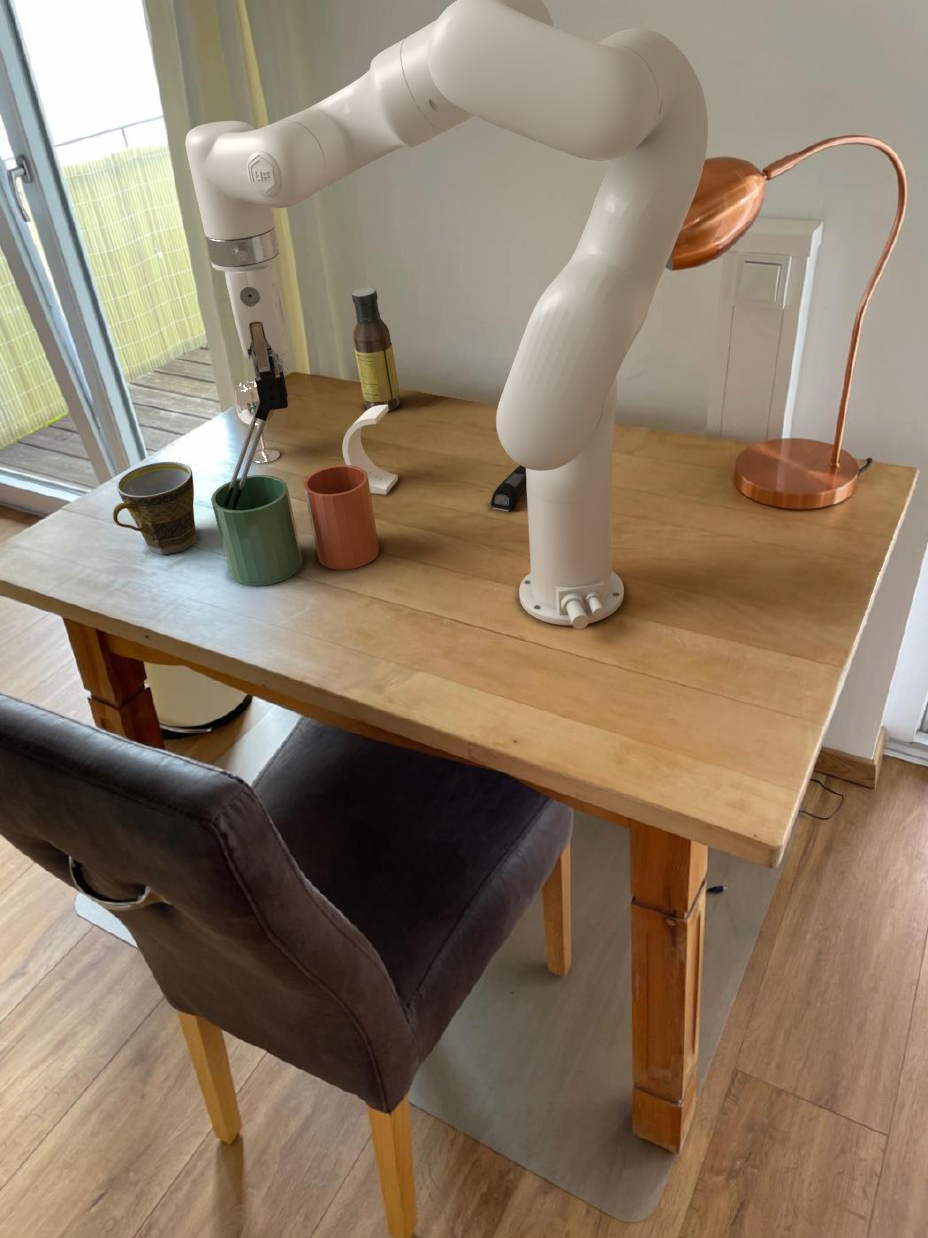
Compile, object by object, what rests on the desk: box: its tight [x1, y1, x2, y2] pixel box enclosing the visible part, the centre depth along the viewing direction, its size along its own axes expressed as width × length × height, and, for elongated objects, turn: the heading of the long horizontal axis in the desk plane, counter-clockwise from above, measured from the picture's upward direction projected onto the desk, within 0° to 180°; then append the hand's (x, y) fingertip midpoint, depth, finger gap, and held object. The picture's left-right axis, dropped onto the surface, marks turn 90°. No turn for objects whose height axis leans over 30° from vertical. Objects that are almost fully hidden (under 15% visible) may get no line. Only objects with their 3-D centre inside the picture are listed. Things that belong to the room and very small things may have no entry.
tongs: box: [224, 357, 284, 510], centre depth 123 cm, size 2×10×18 cm, turn 100°
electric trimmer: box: [490, 465, 527, 512], centre depth 145 cm, size 4×16×3 cm, turn 153°
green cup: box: [210, 474, 303, 587], centre depth 130 cm, size 10×10×11 cm
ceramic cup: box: [112, 461, 197, 556], centre depth 136 cm, size 13×10×10 cm
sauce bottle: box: [351, 287, 401, 412], centre depth 166 cm, size 6×6×20 cm
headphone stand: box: [341, 405, 399, 495], centre depth 146 cm, size 5×6×12 cm
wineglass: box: [234, 378, 281, 464], centre depth 156 cm, size 6×6×12 cm
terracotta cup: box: [303, 464, 380, 571], centre depth 131 cm, size 8×8×11 cm
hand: (274, 402), depth 121 cm, fingers closed on tongs, 2 cm apart
